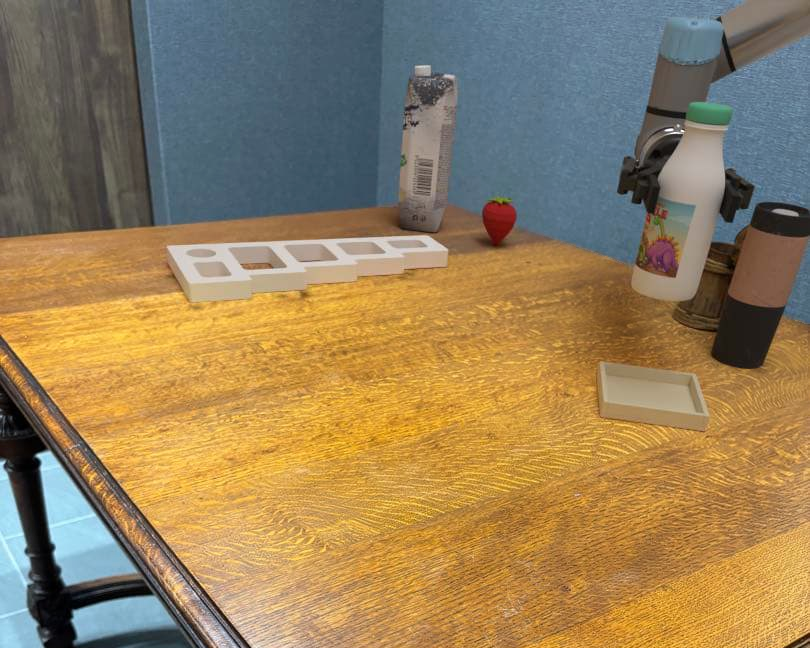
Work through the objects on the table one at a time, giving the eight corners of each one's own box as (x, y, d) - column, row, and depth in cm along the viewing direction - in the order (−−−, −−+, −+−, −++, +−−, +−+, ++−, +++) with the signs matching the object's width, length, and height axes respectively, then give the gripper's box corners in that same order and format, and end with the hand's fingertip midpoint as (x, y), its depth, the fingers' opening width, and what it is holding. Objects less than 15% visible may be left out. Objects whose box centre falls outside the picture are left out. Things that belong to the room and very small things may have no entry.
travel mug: (699, 355, 114) (744, 205, 102) (724, 343, 118) (771, 198, 107) (749, 374, 110) (803, 220, 98) (774, 361, 114) (828, 212, 103)
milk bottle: (674, 281, 101) (723, 100, 90) (707, 302, 95) (764, 112, 84) (618, 281, 99) (661, 96, 88) (648, 303, 93) (699, 108, 82)
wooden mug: (705, 344, 118) (745, 214, 107) (663, 310, 128) (695, 189, 118) (759, 343, 120) (804, 216, 109) (713, 310, 130) (749, 191, 120)
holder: (426, 250, 144) (427, 235, 143) (471, 284, 131) (473, 267, 130) (167, 263, 128) (166, 245, 127) (190, 302, 115) (189, 283, 114)
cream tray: (691, 388, 104) (696, 373, 103) (705, 431, 94) (710, 416, 93) (596, 375, 105) (599, 360, 104) (599, 416, 95) (603, 401, 94)
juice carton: (446, 221, 162) (461, 66, 146) (441, 235, 154) (457, 72, 138) (402, 216, 163) (413, 61, 147) (394, 230, 154) (405, 66, 138)
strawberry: (491, 251, 147) (499, 193, 142) (471, 239, 153) (478, 183, 147) (519, 250, 150) (528, 192, 144) (498, 238, 155) (506, 182, 149)
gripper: (598, 123, 104) (604, 155, 86) (762, 141, 102) (804, 178, 84) (586, 186, 108) (589, 229, 90) (743, 204, 107) (779, 252, 88)
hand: (693, 204), depth 87 cm, fingers closed on milk bottle, 8 cm apart
